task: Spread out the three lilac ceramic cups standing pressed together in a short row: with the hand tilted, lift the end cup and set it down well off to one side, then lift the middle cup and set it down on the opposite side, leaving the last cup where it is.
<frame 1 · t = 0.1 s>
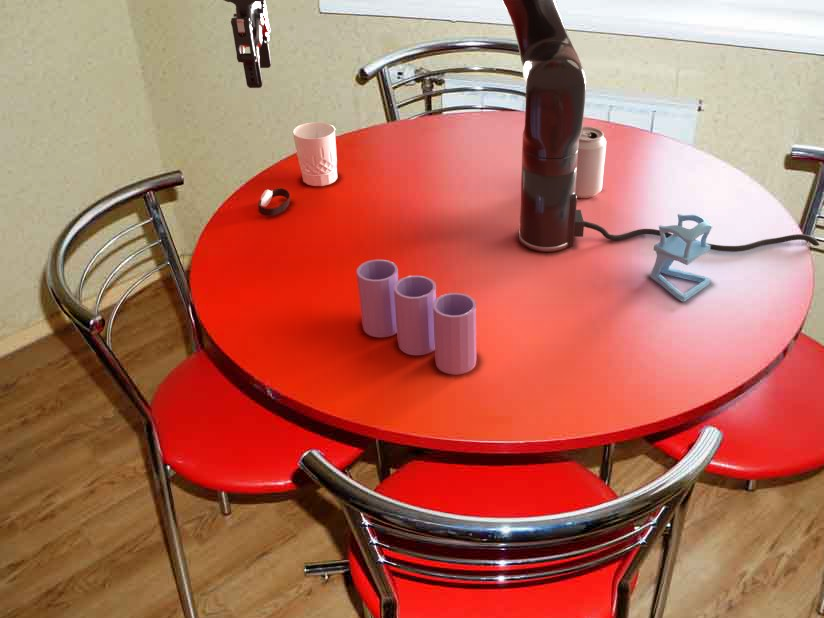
hand: (260, 76, 129), 29 cm above the table, tool pointing down, fingers open, 8 cm apart
can: (582, 192, 165), on the table
chair: (675, 284, 140), on the table
middle cup: (418, 343, 126), on the table
white cup: (320, 179, 168), on the table
end cup: (382, 326, 130), on the table
last cup: (455, 361, 123), on the table
watch: (275, 209, 158), on the table
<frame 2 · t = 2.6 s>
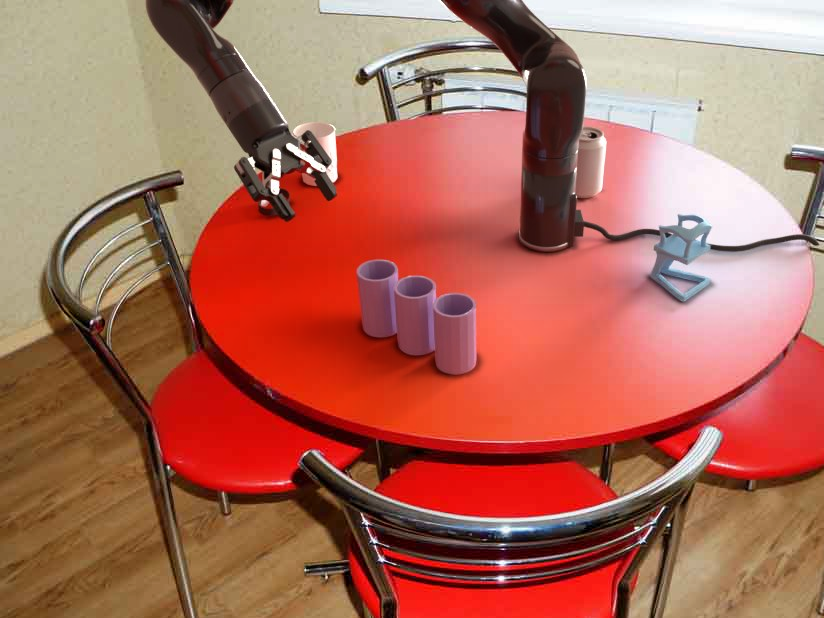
hand: (312, 208, 126), 16 cm above the table, tool tilted 45°, fingers open, 8 cm apart
nothing on the table moved.
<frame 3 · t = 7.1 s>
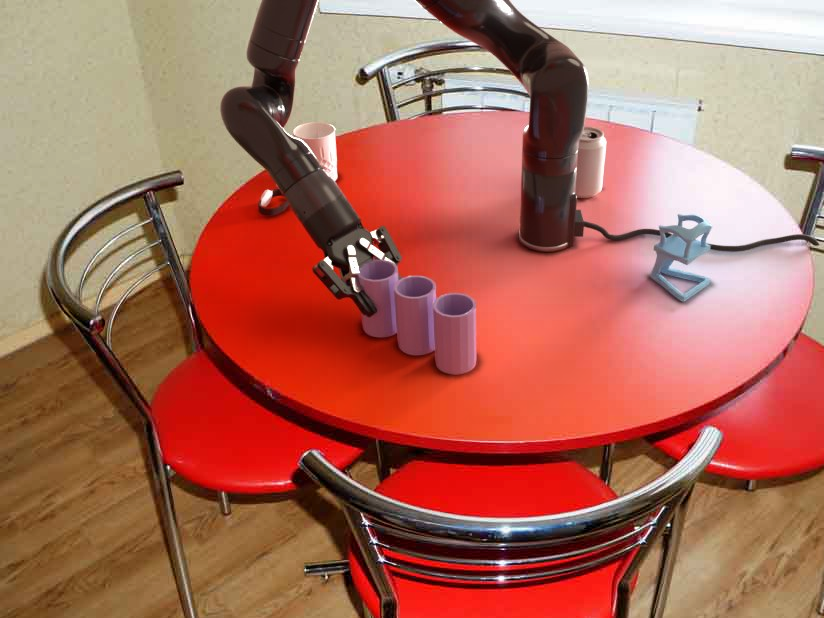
hand: (388, 304, 126), 5 cm above the table, tool tilted 45°, fingers closed on end cup, 6 cm apart
end cup: (382, 326, 130), on the table, touching gripper
everything else where it was.
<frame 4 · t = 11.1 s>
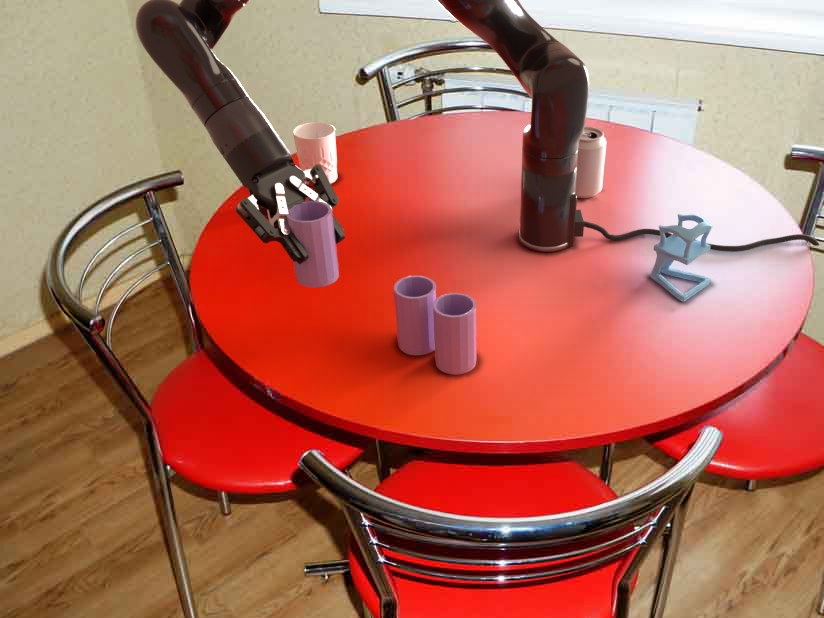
hand: (322, 250, 114), 17 cm above the table, tool tilted 45°, fingers closed on end cup, 6 cm apart
end cup: (317, 276, 117), point 12 cm above the table, touching gripper
everything else where it was.
when the fingers open (5 cm above the table, at t = 15.3 s): end cup stays where it is, on the table.
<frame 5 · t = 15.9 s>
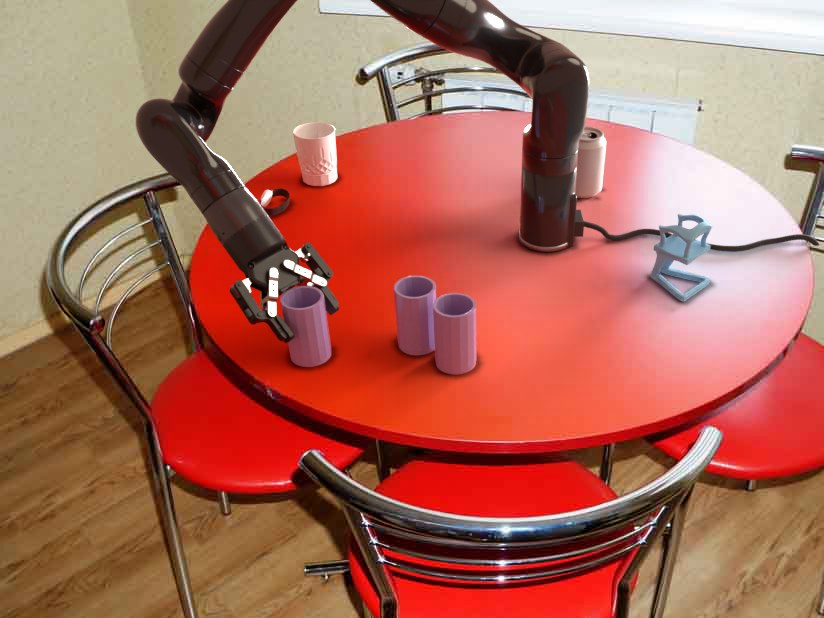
hand: (313, 326, 120), 6 cm above the table, tool tilted 45°, fingers open, 8 cm apart
end cup: (311, 354, 124), on the table
everything else where it was.
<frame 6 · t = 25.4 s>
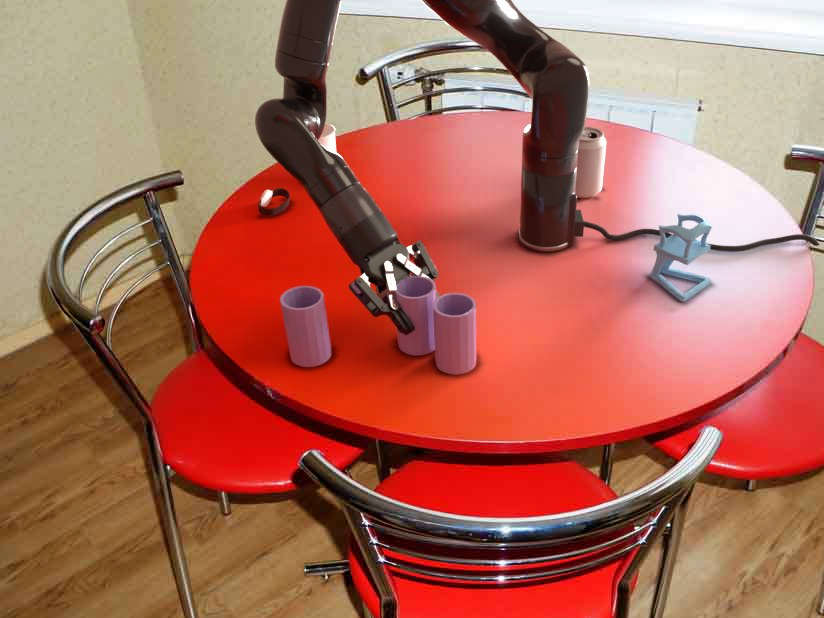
hand: (425, 321, 123), 5 cm above the table, tool tilted 45°, fingers closed on middle cup, 6 cm apart
middle cup: (418, 343, 126), on the table, touching gripper
everything else where it was.
when the fingers open (5 cm above the table, at t = 33.5 s): middle cup stays where it is, on the table.
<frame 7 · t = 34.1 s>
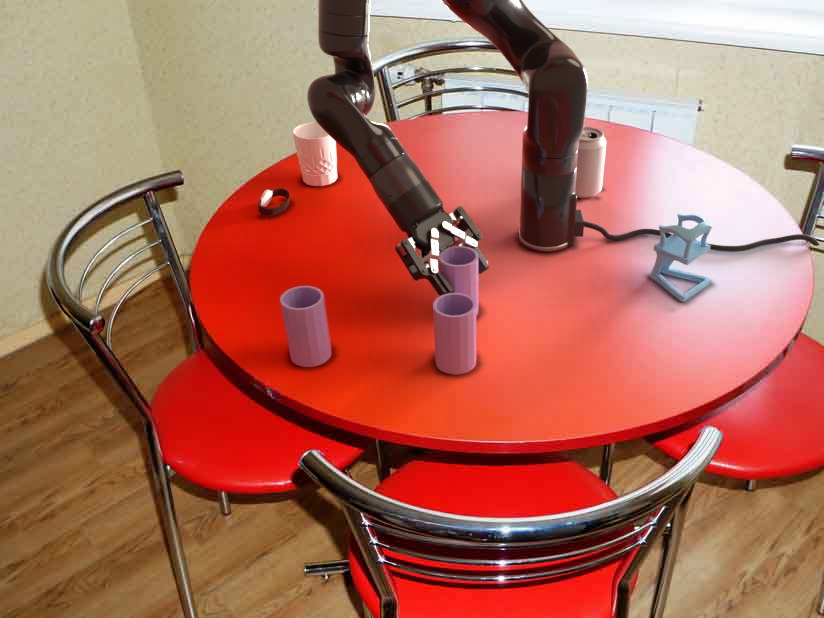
hand: (467, 283, 129), 6 cm above the table, tool tilted 45°, fingers open, 8 cm apart
middle cup: (459, 311, 133), on the table
everything else where it was.
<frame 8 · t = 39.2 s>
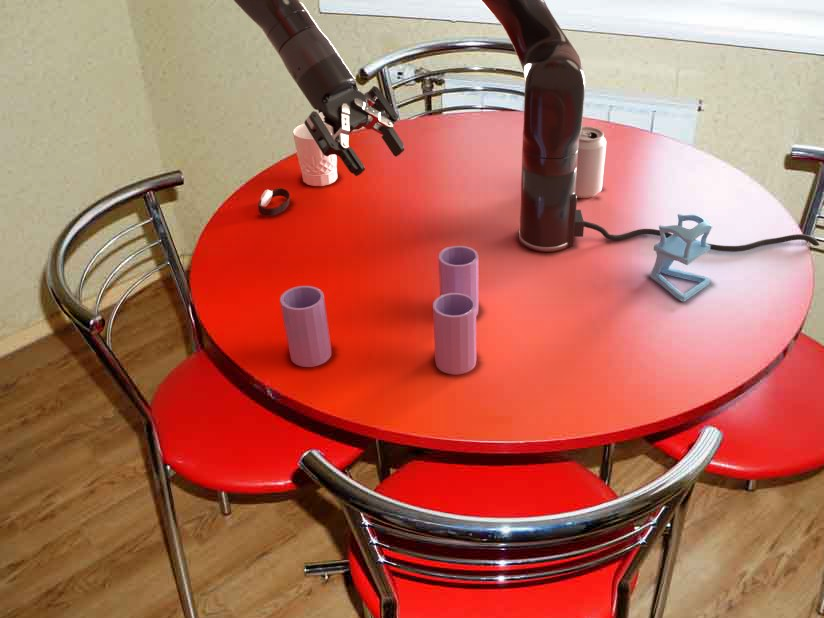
hand: (381, 162, 127), 21 cm above the table, tool tilted 45°, fingers open, 8 cm apart
nothing on the table moved.
at the end: end cup 0.1 cm from the target spot, on the table; middle cup 0.2 cm from the target spot, on the table; last cup moved 0.0 cm from its start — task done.
